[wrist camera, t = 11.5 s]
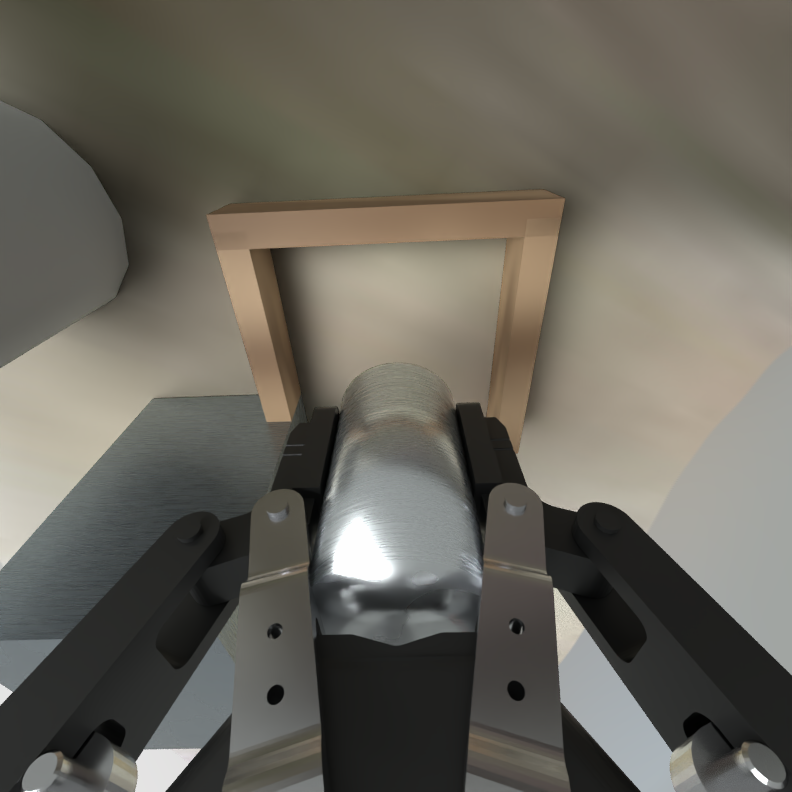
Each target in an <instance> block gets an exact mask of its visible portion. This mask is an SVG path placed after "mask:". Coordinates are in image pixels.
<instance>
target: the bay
mask: <svg viewBox="0 0 792 792" xmlns="http://www.w3.org/2000/svg"><path fill="white" fill-rule="evenodd" d="M564 202H565V198H563V197H561V196H558V195H556V194H553V193H551V192H549V191H546V190H544V189H536V190H515V191H493V192H472V193H451V194H429V195H408V196H386V197H365V198H343V199H322V200H300V201H279V202H257V203H236V204H228V205H226V206H224V207H222V208H220V209H218V210H216V211H213V212H211V213H209V214H207V215H206V217H207V220H208V223H209V227H210V230H211V234H212V237H213V240H214V244H215V247H216V251H217V254H218V258H219V261H220V264H221V268H222V271H223V275H224V278H225V281H226V285H227V288H228V292H229V295H230V298H231V302H232V305H233V309H234V312H235V316H236V319H237V322H238V326H239V329H240V333H241V336H242V339H243V343H244V346H245V350H246V353H247V356H248V360H249V363H250V367H251V370H252V374H253V377H254V380H255V384H256V387H257V391H258V394H259V397H260V401H261V404H262V408H263V411H264V414H265V418H266V421H267V422H286V421H292V418H293V416H294V413H295V410H296V407H297V404H298V401H299V398H300V395H301V390H300V385H299V380H298V376H297V371H296V367H295V362H294V357H293V353H292V348H291V344H290V339H289V334H288V330H287V325H286V321H285V316H284V311H283V307H282V302H281V298H280V293H279V288H278V284H277V279H276V275H275V270H274V265H273V261H272V256H271V252H270V248H287V247H310V246H333V245H355V244H378V243H401V242H423V241H446V240H469V239H491V238H507V242H506V250H505V259H504V268H503V277H502V285H501V294H500V303H499V311H498V320H497V329H496V338H495V346H494V355H493V364H492V373H491V381H490V390H489V399H488V407H487V416H486V417H496V418H497V419H498V420H499V421H500V422H501V423H502V424H503V425H504V426H505V427H506V429H507V432H508V435H509V438H510V441H511V443H512V446H513V450H514V451H515V454H516V453H518V451H519V445H520V440H521V434H522V429H523V424H524V418H525V413H526V407H527V402H528V397H529V391H530V386H531V380H532V375H533V370H534V364H535V359H536V353H537V348H538V343H539V337H540V332H541V326H542V321H543V316H544V310H545V305H546V300H547V294H548V289H549V283H550V278H551V273H552V267H553V262H554V256H555V251H556V246H557V240H558V235H559V229H560V224H561V219H562V213H563V208H564Z"/></svg>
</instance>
